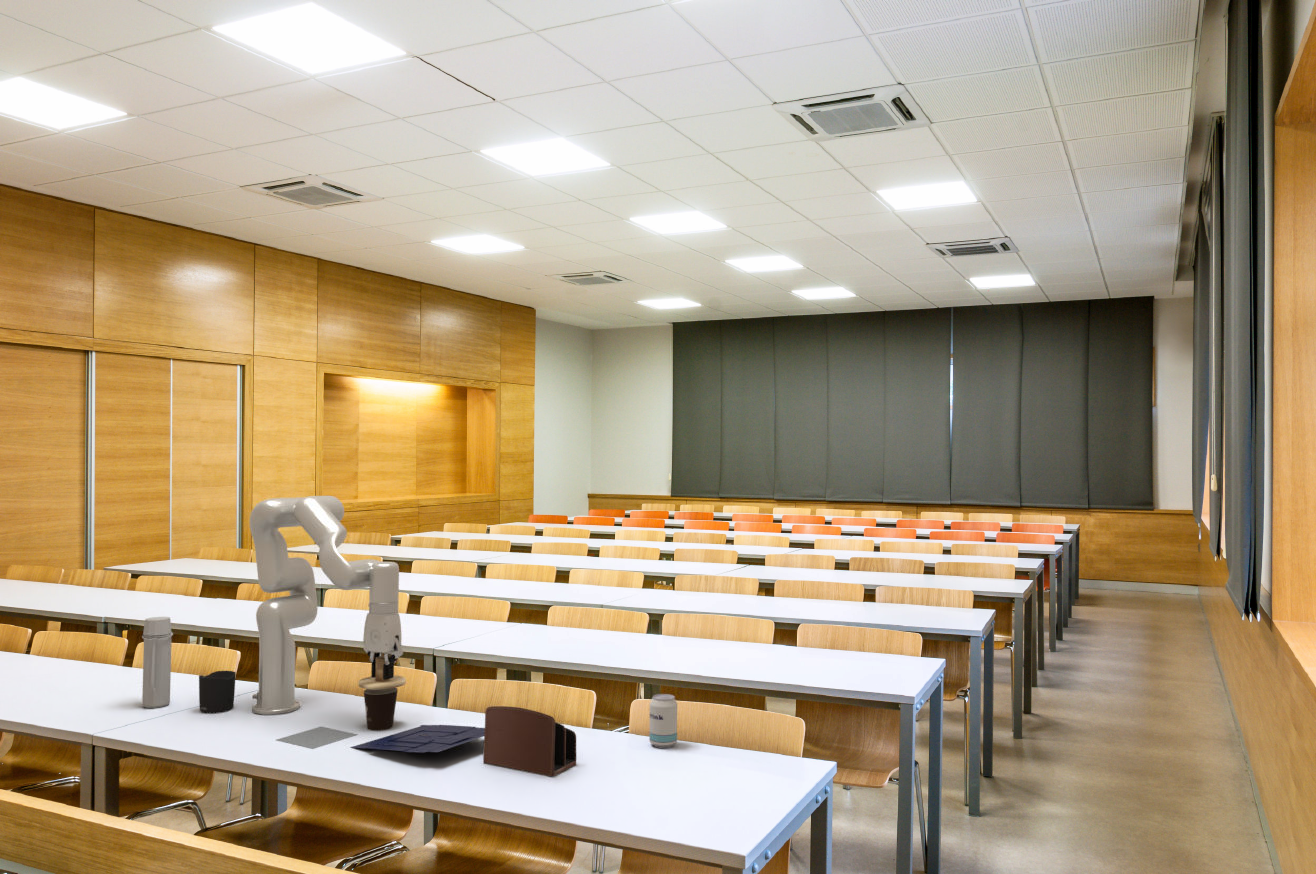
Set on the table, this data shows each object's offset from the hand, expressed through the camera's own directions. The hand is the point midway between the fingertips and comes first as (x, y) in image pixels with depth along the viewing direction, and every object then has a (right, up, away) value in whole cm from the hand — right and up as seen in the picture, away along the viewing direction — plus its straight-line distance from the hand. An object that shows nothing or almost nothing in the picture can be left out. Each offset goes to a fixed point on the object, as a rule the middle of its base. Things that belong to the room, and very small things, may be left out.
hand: (382, 676), depth 241 cm
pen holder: (-52, -14, +16) cm, 56 cm away
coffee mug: (0, -13, -1) cm, 13 cm away
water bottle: (-71, -14, +19) cm, 75 cm away
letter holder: (+44, -13, -30) cm, 54 cm away
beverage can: (+75, -13, -15) cm, 77 cm away
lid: (0, -2, 0) cm, 2 cm away
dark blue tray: (+16, -13, -17) cm, 27 cm away
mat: (-13, -13, -11) cm, 22 cm away
